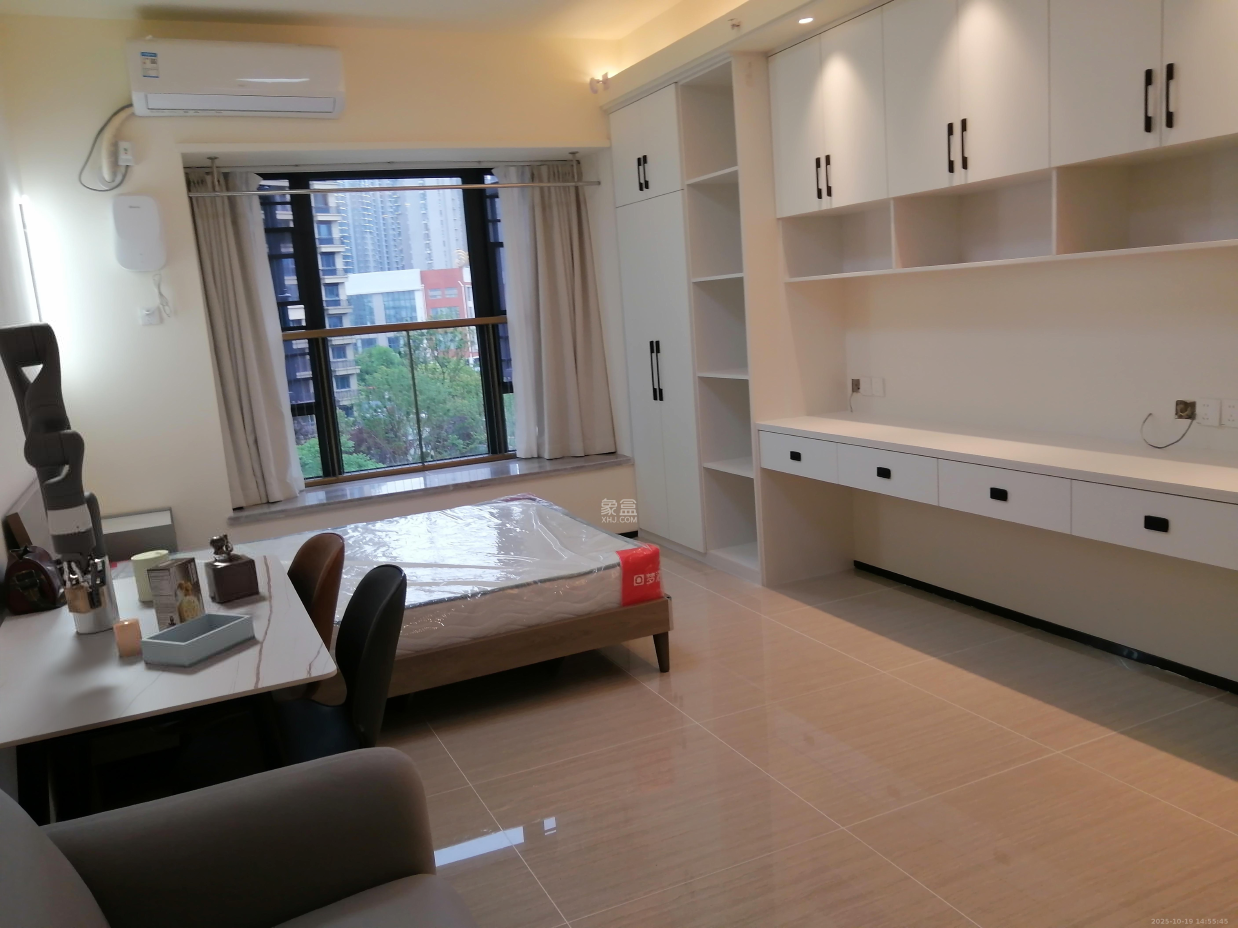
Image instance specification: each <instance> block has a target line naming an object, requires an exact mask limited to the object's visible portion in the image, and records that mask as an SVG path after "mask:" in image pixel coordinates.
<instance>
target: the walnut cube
mask: <svg viewBox="0 0 1238 928" xmlns="http://www.w3.org/2000/svg"><path fill="white" fill-rule="evenodd" d="M89 583H90V585H91V582H89ZM63 591H64V594H65V595H64V596H65V599H66V602H67V603H66V604H67V609H68V612H69V613H72V614H73V613H80V614H86V613H89V612H91V611H94V610H97V609H99V608H102V607H105V606H107V603H106V599H105V594H104V589H103V587H101V588H100V589H99V592H100V596H101V597H100V598H101V601H102V606H101V607H98V608H96V609H91V608H90V605H89V600H88V595H87V590H86V588H85V585H84V583H82V584H79V585H76V586H73V587H70V588H65V589H64V590H63Z"/></svg>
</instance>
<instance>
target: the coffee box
mask: <svg viewBox="0 0 1238 928" xmlns="http://www.w3.org/2000/svg"><path fill="white" fill-rule="evenodd" d="M196 563H197V562H196V557H195V556H193V557H192V556H191V557H178V558H177V557H176V558H169V560H168V561H166V562H163V563H161V564H158V565H156V566H154V567H152V568H149V569H147V573H148V578H149V583H150V588H151V593H152V598H153V601H152V602H153V607H154V610H155V611H154V612H155V617H156V621H157V627H158V631H159V632H161V631H164V630H166V629H169V628H171V627H174V626H176V625H179V624H181V623H184V622H186V621H188V620H191V619H193V618H196V617H198V616H201V615H203V614H206V613H207V612H206V609H205V605H204V599H203V598H204V597H203V595H202V587H201V584H200V578H199V574H198V568H197V564H196ZM159 632H158V633H159Z"/></svg>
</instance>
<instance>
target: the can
mask: <svg viewBox="0 0 1238 928" xmlns="http://www.w3.org/2000/svg"><path fill="white" fill-rule="evenodd" d="M169 553H170V552H169V550H166V549H159V550H152V551H151V550H150V551H145V552H142V553H139V554H136V555H134V556H132V557H131V558H130V560H131V564H132V568H133V573H134V579H135V585H136V589H137V595H138V596H137V597H138V599H137V600H138V601H140V602H153V598H152V593H151V588H150V583H149V578H148V573H147V569H149V568H152V567H154V566H156V565H158V564H161V563H163V562H166V561H168V560H170V555H169Z"/></svg>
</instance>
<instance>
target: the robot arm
mask: <svg viewBox="0 0 1238 928" xmlns="http://www.w3.org/2000/svg"><path fill="white" fill-rule="evenodd" d="M60 355H61V354H60V348H59V344H58V340H57V336H56V334H55V331H54V329H53V327H52V326H51V325H50V324H49V323H48V322H44V321H38V322H37V321H36V322H30V323H29V322H28V323H20V324H13V325H5V326H0V358H1V363H2V365H3V367H4V370H5V372H6V377H7V378H8V381H9V385H10V387H11V390H12V392H13V395H14V396H13V397H14V399H15V403H16V407H17V410H18V415H19V418H20V422H21V427H22V430H23V434H24V438H25V439H24V446H23V456H24V458H25V462H26V463H27V464H28V465H29V466H30V467H32V468H33V469H35V472H36V476H37V480H38V484H39V489H40V493H41V498H42V502H43V508H44V513H45V517H46V520H47V524H48V529H49V533H50V537H51V541H52V542H51V543H52V548H53V551H54V553H55V554H56V555H60V557H59V558H56V559H53V560H51V561H52V565H53V569H54V570H55V573H56V577H57V579H58V583H59V584H60V587H62V588H65V589H67V588H70V587H73V586H76V585H79V584H82V583H84V585H85V588H86V590H87V595H88V600H89V605H90V608H91V609H96V608H98V607H101V606H102V601H101V598H100V597H101V596H100V592H99V589H100V588H101V587H103V589H104V594H105V599H106V603H107V606H105V607H102V608H99V609H97V610H94V611H91V612H89V613H86V614H80V613H72V617H73V620H74V626H75V630H76V631H77V632H78V633H79V634H84V635H85V634H94V633H99V632H104V631H106V630H110V629H114V627H113V625H114V624H115V623H117V622H119V621H121V618H120V611H119V607H118V602H117V597H116V591H115V586H114V582H113V577H112V576H113V575H112V572H111V567H110V562H109V561H110V560H109V556H108V552H107V547H106V543H105V535H104V532H103V524H102V523H103V522H102V517H101V516H102V515H101V510H100V504H99V501H98V498H97V496H96V495H95V493H94V492H91V491H86V492H85V490H84V485H83V464H84V457H85V448H86V447H85V446H86V445H85V441H84V438H83V436H82V435H81V434H80V433H79V432H77V431H76V430H73V429H72V427H71V421H70V419H69V416H68V414H67V411H66V406H65V402H64V397H63V391H62V368H61V356H60ZM41 365H42V366H41ZM35 366H36V367H37V366H41V369H40V370H39V372H38V374H36V377H34V379H33V380H32V381H31V380H30V379H29V377H28V376H27V374H26V373H25V371H24V370H23V368H29V367H35ZM66 466H68V469H67V471H66V472H65V473H64V474H63V471H64V470H65V468H66ZM89 582H91V585H90V583H89Z"/></svg>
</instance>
